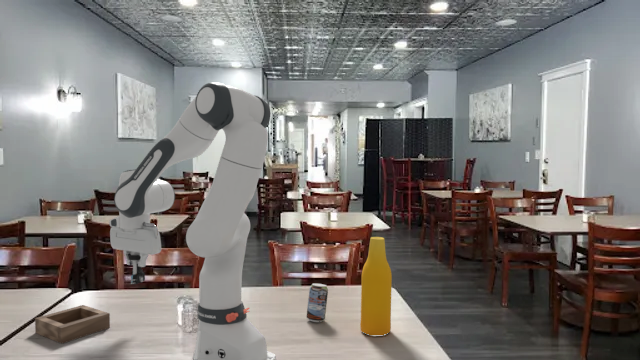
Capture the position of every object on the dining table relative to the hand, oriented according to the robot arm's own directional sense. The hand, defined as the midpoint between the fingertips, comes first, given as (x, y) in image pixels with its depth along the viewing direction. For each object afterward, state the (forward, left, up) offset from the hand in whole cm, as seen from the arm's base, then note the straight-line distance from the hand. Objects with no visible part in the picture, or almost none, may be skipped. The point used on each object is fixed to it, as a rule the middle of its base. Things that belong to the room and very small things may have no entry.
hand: (136, 265), depth 152 cm
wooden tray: (+11, +14, -19) cm, 26 cm away
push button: (0, 0, -6) cm, 6 cm away
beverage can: (-45, -35, -19) cm, 60 cm away
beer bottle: (-65, -37, -19) cm, 77 cm away
